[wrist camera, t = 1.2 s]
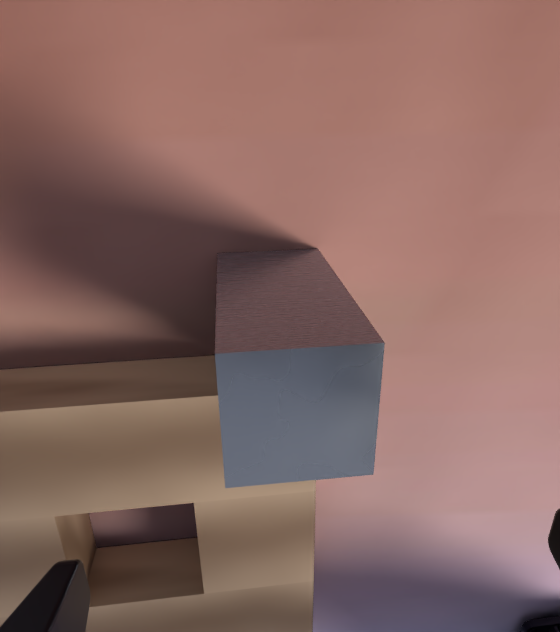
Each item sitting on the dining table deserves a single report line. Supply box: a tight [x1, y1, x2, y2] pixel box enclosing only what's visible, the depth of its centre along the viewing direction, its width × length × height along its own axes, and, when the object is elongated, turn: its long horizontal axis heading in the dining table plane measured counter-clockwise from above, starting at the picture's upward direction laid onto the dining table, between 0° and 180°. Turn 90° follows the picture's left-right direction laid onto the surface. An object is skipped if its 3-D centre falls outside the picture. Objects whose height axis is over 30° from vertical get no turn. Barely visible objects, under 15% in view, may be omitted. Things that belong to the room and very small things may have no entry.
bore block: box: [0, 355, 316, 632], centre depth 20 cm, size 15×15×3 cm
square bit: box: [215, 249, 385, 488], centre depth 15 cm, size 4×4×8 cm
